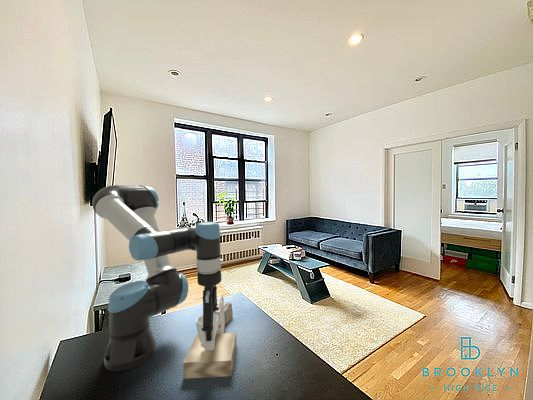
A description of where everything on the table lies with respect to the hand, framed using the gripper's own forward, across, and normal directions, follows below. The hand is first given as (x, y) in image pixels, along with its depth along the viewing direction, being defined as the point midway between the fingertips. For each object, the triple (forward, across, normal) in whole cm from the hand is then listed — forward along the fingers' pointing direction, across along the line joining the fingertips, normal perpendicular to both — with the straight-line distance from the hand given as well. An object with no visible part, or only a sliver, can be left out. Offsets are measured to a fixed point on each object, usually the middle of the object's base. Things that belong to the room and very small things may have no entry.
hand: (211, 339), depth 75 cm
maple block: (+7, 0, 0) cm, 7 cm away
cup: (0, 0, 0) cm, 1 cm away
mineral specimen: (+7, +22, -1) cm, 23 cm away
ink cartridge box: (+7, +13, 0) cm, 15 cm away
